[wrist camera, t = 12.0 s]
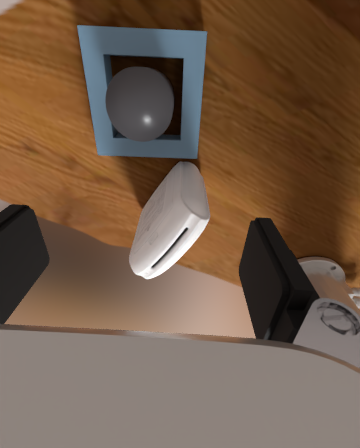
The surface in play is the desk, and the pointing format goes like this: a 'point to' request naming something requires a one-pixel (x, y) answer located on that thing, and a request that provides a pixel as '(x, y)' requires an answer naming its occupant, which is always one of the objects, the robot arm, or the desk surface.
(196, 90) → the collar
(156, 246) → the photo printer
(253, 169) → the desk surface
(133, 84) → the dark grey cylinder
